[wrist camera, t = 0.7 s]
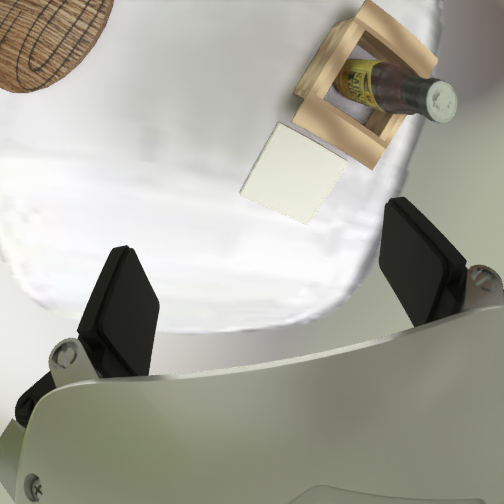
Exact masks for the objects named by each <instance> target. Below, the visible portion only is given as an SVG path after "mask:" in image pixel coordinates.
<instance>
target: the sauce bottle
mask: <svg viewBox="0 0 504 504" xmlns="http://www.w3.org/2000/svg"><path fill="white" fill-rule="evenodd" d="M333 82H334V86H335V87H336V90H338V92H340V93H341V94H342V95H343V96H344V97H346V98H347V99H349V100H352V101H355V102H358V103H361V104H364V105H366V106H369V107H372V108H374V109H377V110H380V111H383V112H385V113H388V114H404V115H414V114H415V113H419V114H421V115H424V116H425V117H426V118H428V119H429V120H431V121H434V122H437V123H446V122H448V121H450V120H451V119H452V118H453V116H454V115H455V112H456V109H457V97H456V94H455V92H454V89H453V88H452V86H451V85H450V84H448V83H447V82H445V81H442V80H439V79H436V78H430V79H425V78H422V77H420V76H419V75H418V74H417V73H416V72H415V71H414V70H413V69H412V68H410V67H408V66H406V65H404V64H399V63H393V62H389V61H378V60H363V59H350V60H346V62H345V63H344V65H343V67H342V68H341V70H340V72H339V73H338V75H337V77H336V78H335V80H334V81H333Z"/></svg>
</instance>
